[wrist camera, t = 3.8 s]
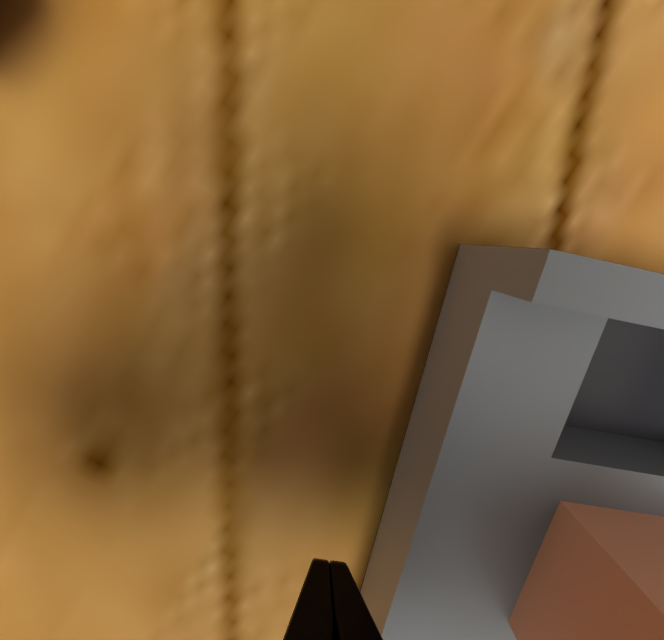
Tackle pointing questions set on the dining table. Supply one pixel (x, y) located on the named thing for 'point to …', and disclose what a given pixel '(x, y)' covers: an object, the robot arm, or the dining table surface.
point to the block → (595, 578)
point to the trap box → (517, 433)
